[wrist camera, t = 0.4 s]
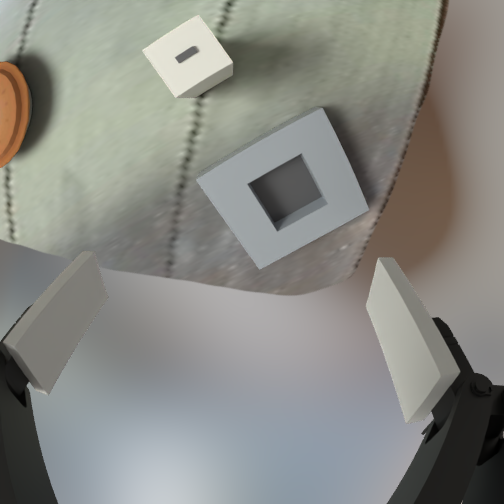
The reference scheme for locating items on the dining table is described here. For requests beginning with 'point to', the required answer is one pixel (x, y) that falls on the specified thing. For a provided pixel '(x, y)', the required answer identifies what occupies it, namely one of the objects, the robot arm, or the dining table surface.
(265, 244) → the gray socket base
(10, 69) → the pie
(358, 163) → the dining table surface
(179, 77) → the brick
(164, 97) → the dining table surface
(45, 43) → the dining table surface
